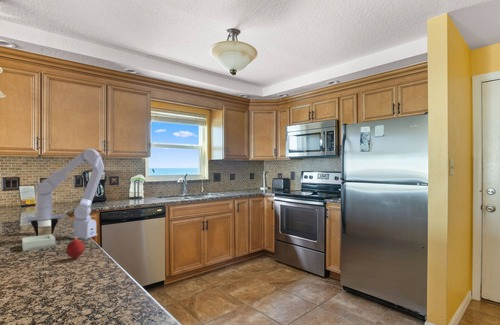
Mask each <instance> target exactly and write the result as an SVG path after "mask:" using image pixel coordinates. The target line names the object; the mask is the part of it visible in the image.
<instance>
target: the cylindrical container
mask: <svg viewBox="0 0 500 325" xmlns="http://www.w3.org/2000/svg"><path fill="white" fill-rule="evenodd" d="M36 187H37V185H36V186H35V188H36ZM37 200H38V192H37V191H36V190H35V208H34V210H35V212H34V214H35V216H34V217H37ZM49 219H50V218H49ZM40 220H43V219H40ZM37 222H38V227H44V226H51V220H45V221H37ZM34 236H36V233H35V232H34Z"/></svg>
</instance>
